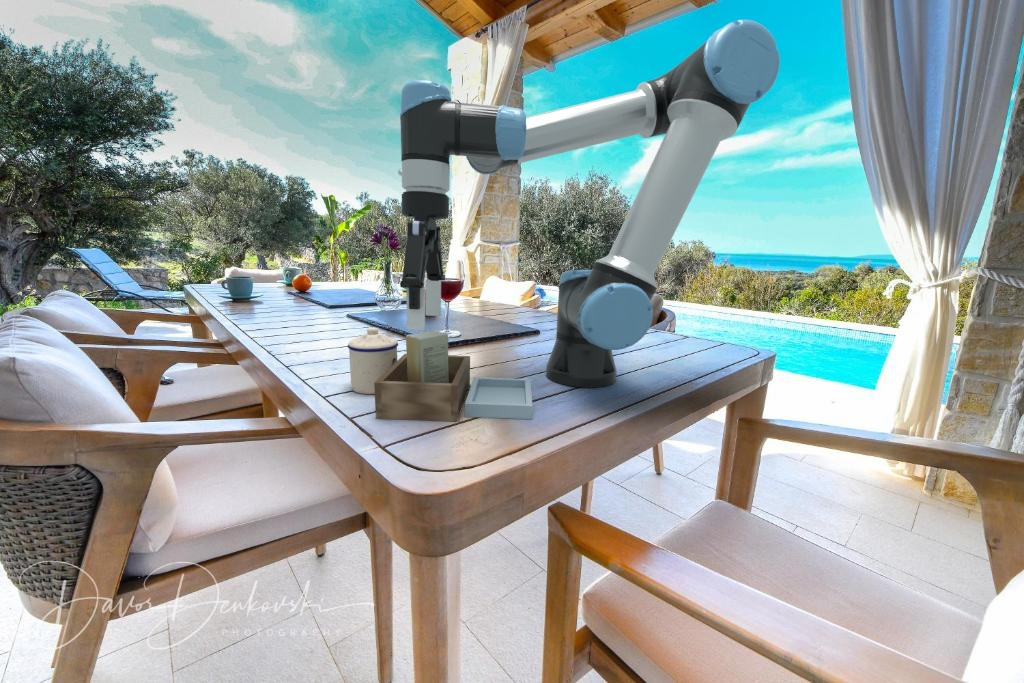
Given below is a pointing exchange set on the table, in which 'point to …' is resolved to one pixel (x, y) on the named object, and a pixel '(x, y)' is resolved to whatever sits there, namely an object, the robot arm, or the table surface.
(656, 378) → the table surface
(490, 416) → the tray
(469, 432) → the table surface
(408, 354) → the skincare box
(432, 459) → the table surface
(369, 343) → the cream lidded jar
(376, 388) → the caddy
